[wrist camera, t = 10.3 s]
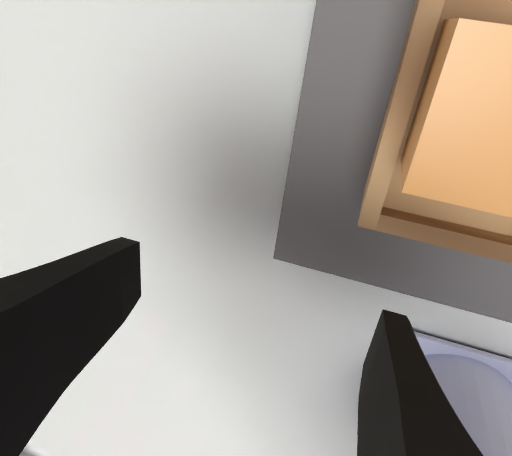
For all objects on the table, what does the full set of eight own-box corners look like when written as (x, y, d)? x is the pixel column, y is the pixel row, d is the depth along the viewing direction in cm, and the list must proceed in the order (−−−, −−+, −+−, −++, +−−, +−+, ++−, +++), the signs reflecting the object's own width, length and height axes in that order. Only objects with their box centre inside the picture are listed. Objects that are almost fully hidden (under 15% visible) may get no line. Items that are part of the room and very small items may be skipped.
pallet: (504, 218, 16) (531, 268, 12) (364, 187, 17) (357, 226, 14) (638, -65, 11) (732, -97, 8) (437, -81, 12) (452, -117, 9)
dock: (524, 291, 20) (544, 331, 17) (287, 231, 22) (273, 258, 20) (815, -232, 11) (941, -308, 8) (372, -236, 13) (366, -296, 11)
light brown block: (518, 183, 12) (551, 226, 10) (400, 158, 13) (401, 192, 10) (587, 39, 10) (651, 44, 8) (444, 18, 11) (459, 17, 8)
